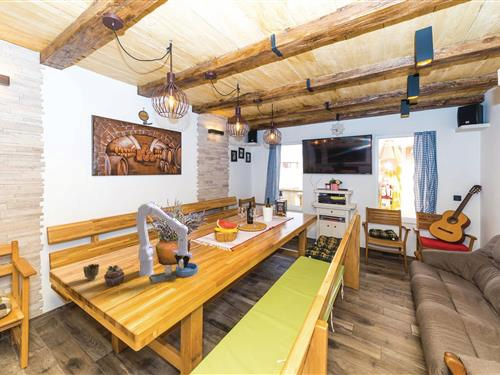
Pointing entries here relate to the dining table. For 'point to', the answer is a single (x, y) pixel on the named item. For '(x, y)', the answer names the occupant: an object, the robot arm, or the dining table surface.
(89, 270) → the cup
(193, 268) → the bowl
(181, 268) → the white rounded capsule
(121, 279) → the cupcake
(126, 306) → the dining table surface
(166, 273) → the cylinder
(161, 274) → the tray
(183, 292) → the dining table surface
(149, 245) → the robot arm
